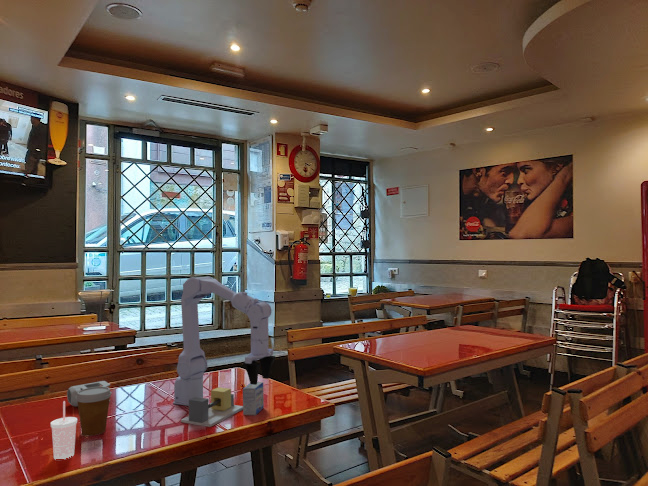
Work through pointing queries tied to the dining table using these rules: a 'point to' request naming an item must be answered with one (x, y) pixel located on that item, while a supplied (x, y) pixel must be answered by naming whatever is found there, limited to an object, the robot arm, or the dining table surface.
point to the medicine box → (253, 399)
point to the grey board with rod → (208, 412)
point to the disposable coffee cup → (93, 409)
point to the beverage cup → (63, 436)
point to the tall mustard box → (223, 395)
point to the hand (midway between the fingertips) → (259, 381)
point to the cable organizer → (74, 389)
